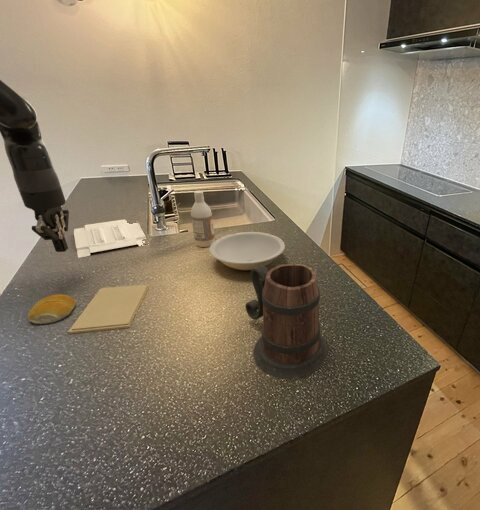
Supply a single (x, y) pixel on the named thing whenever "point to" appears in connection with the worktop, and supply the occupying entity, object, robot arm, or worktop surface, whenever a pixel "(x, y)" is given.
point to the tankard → (287, 320)
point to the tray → (107, 236)
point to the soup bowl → (247, 249)
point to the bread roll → (51, 309)
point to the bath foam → (202, 221)
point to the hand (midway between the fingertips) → (62, 250)
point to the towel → (111, 309)
